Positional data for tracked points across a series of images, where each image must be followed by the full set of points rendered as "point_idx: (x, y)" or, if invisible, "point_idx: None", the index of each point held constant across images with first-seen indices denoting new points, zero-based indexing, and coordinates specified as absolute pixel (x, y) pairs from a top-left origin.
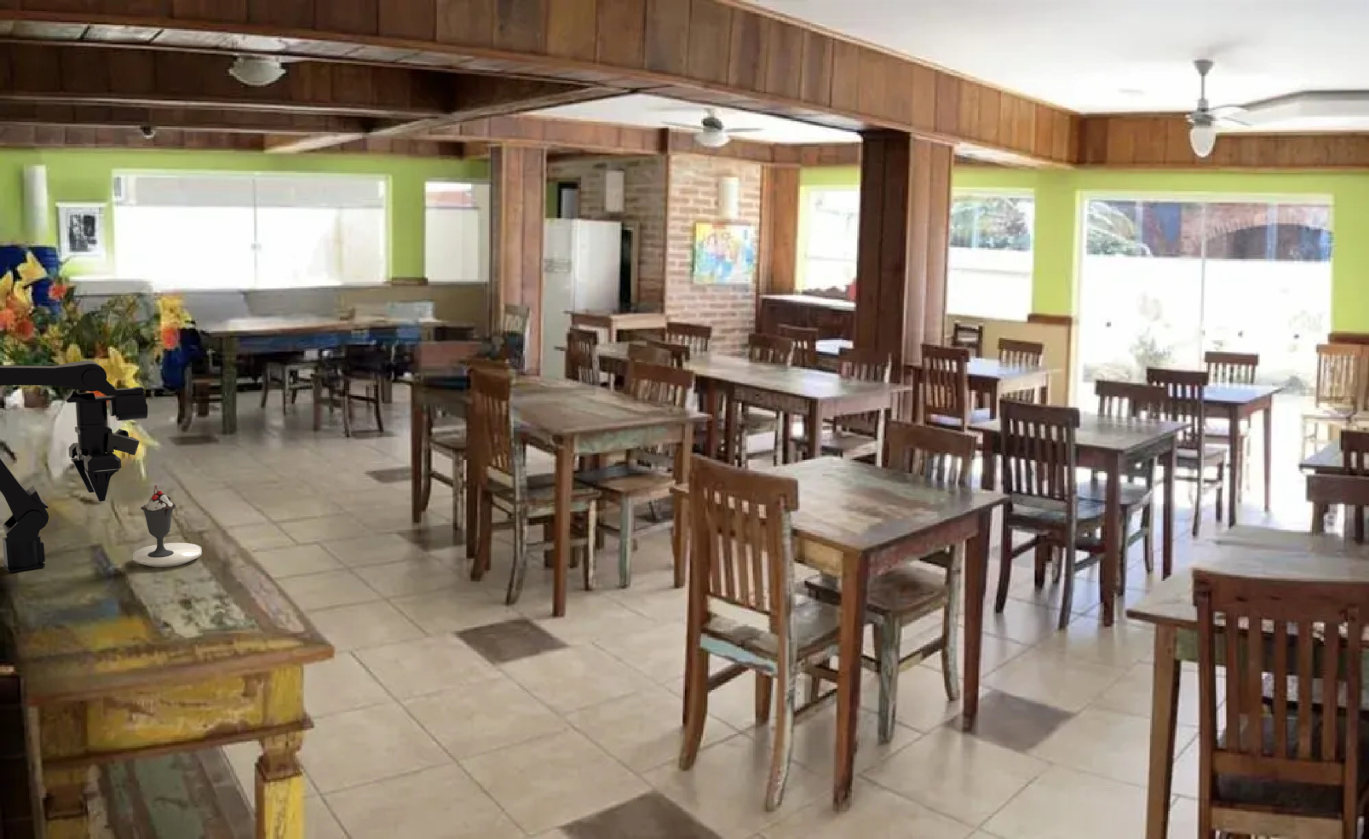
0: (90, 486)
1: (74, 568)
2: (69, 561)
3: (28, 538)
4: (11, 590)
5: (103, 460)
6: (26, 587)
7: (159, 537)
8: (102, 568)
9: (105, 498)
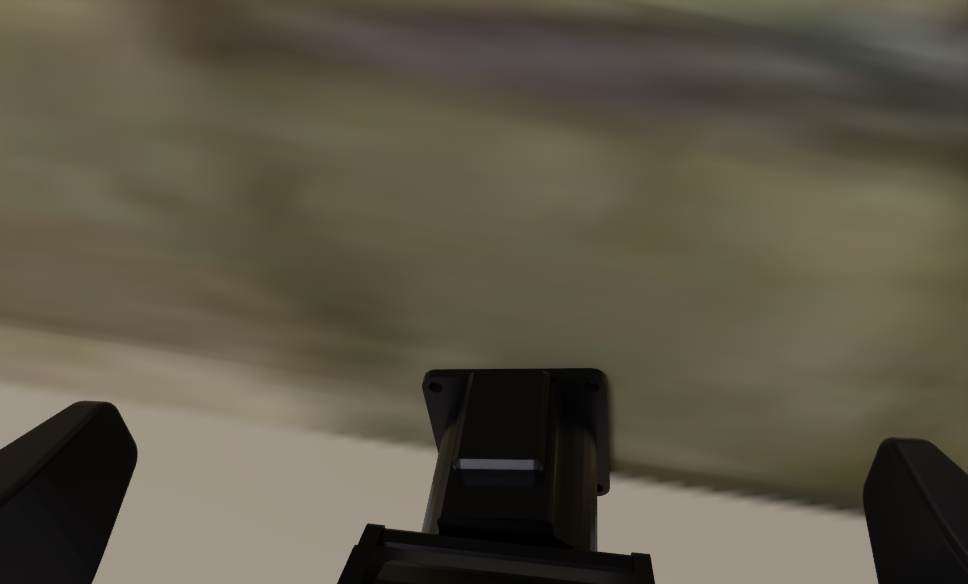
0: (77, 526)
1: (732, 254)
2: (539, 246)
3: None
4: None
5: None
6: None
7: None
8: (882, 109)
9: (953, 464)
